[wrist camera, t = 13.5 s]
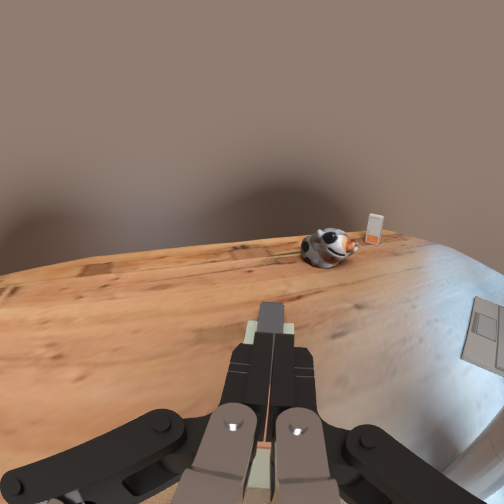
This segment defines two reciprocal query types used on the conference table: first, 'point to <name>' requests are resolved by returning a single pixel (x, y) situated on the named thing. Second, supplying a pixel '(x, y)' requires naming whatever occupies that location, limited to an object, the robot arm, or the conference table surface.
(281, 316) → the domino
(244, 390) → the robot arm
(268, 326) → the domino
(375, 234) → the skincare box
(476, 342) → the laptop
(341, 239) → the lucky cat figurine
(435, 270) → the conference table surface
